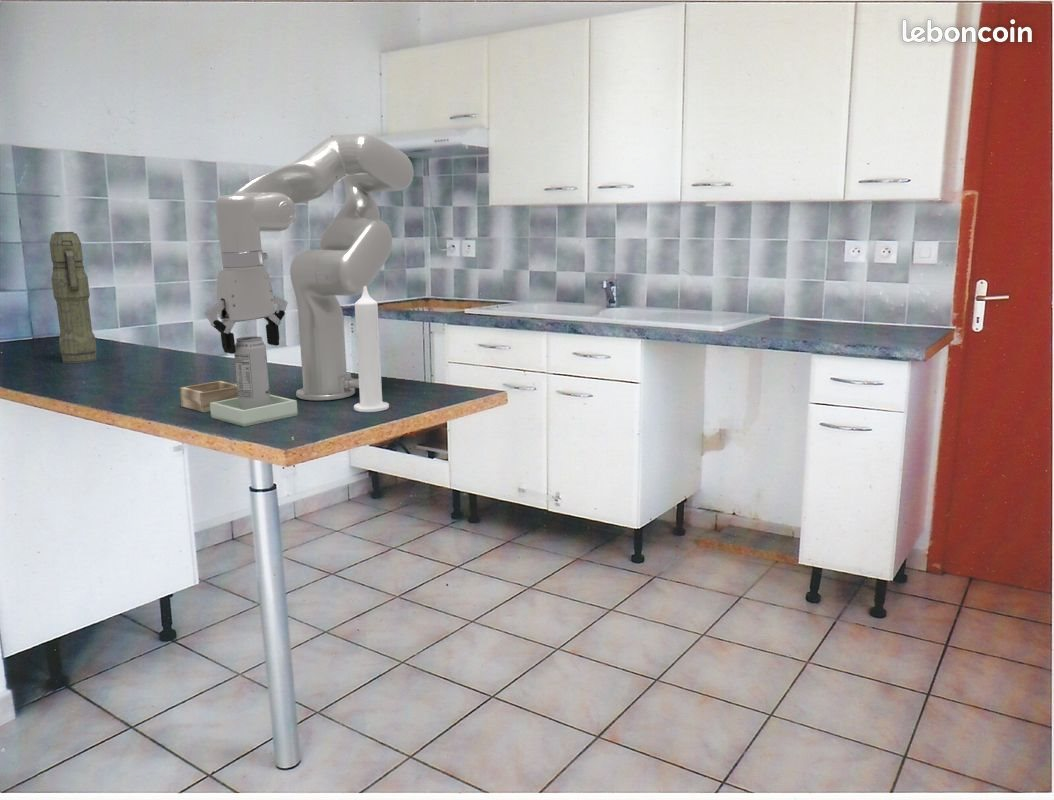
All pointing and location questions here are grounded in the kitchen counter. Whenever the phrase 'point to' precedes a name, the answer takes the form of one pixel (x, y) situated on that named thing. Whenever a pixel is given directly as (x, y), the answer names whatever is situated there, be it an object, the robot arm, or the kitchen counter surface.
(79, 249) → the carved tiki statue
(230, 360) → the kitchen counter surface
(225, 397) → the wooden square frame
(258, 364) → the energy drink can
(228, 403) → the tray
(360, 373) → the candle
